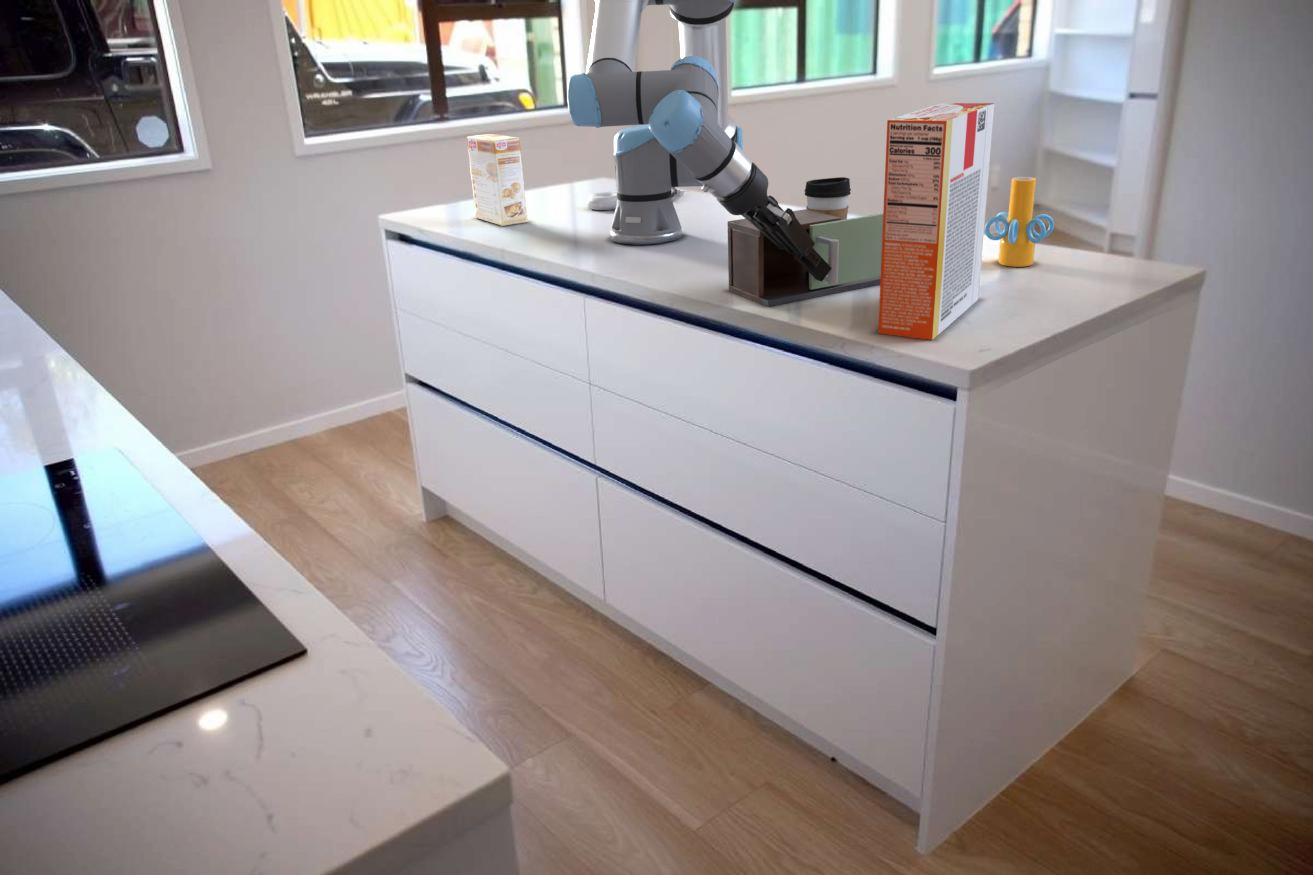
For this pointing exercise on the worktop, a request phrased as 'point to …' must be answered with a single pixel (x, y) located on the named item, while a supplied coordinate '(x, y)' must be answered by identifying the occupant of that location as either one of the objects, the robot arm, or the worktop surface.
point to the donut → (602, 201)
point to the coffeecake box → (497, 178)
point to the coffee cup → (828, 196)
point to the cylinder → (1019, 225)
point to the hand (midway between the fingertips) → (824, 274)
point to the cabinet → (775, 265)
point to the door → (848, 249)
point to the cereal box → (933, 216)
